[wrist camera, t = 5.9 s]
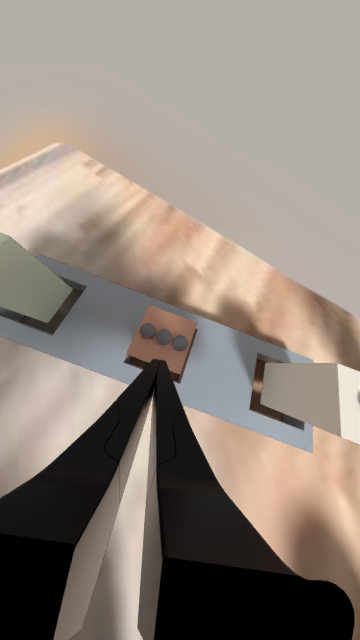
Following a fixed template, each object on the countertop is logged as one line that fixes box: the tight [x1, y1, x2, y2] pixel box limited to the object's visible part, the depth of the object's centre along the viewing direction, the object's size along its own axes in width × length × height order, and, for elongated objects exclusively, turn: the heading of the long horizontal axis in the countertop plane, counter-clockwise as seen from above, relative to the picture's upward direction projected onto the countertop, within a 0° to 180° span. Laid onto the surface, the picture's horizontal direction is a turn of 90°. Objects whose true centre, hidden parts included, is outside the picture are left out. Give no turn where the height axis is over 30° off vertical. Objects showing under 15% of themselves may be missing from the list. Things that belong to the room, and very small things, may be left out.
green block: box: [0, 233, 73, 323], centre depth 11 cm, size 4×4×8 cm
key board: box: [0, 254, 313, 454], centre depth 17 cm, size 38×10×3 cm, turn 70°
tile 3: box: [126, 305, 197, 374], centre depth 14 cm, size 4×4×8 cm
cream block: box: [260, 363, 360, 444], centre depth 12 cm, size 4×4×8 cm
